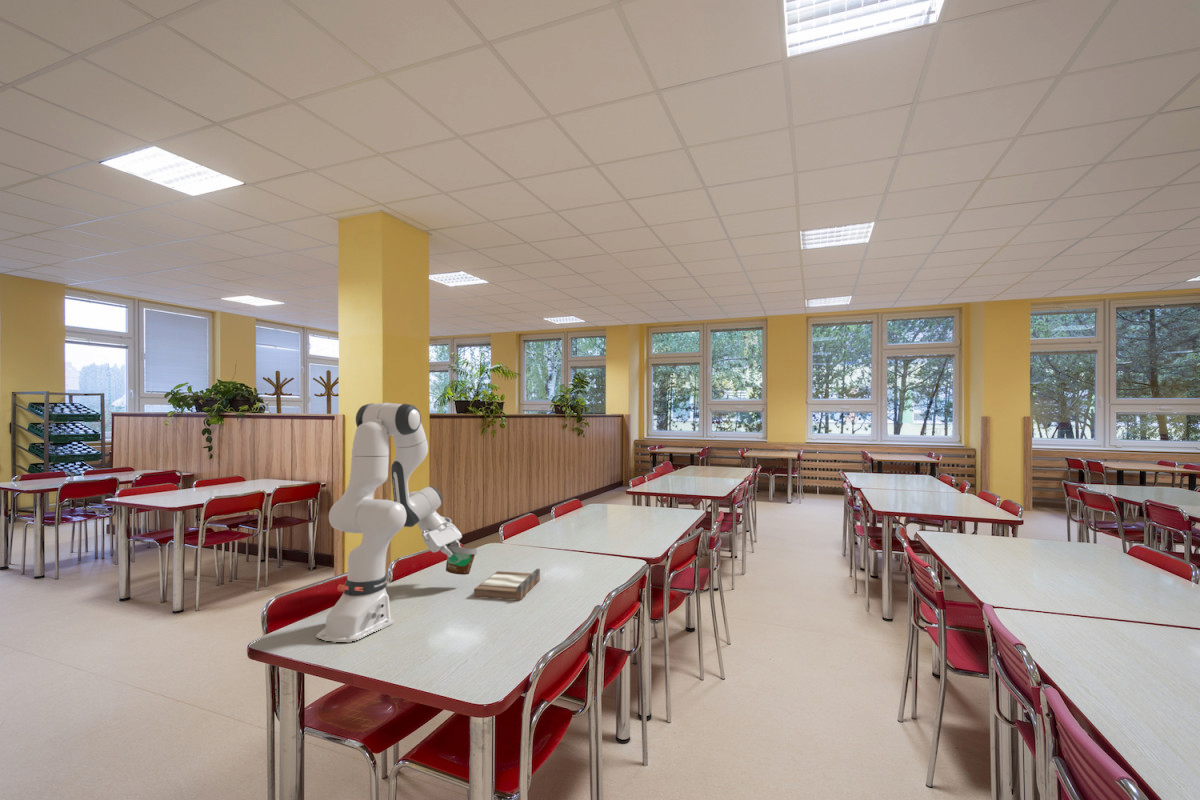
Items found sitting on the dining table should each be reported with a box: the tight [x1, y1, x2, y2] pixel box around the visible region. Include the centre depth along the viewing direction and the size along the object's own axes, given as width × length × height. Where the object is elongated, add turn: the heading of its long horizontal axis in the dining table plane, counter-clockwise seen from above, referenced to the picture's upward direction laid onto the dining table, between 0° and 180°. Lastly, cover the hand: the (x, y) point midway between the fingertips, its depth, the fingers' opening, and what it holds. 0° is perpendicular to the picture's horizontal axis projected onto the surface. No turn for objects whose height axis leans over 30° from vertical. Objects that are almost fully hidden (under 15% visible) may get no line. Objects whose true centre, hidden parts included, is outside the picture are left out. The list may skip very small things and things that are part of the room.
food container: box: [445, 543, 478, 576], centre depth 196 cm, size 12×6×10 cm, turn 79°
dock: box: [473, 568, 541, 601], centre depth 194 cm, size 22×18×5 cm
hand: (456, 553), depth 197 cm, fingers closed on food container, 6 cm apart
